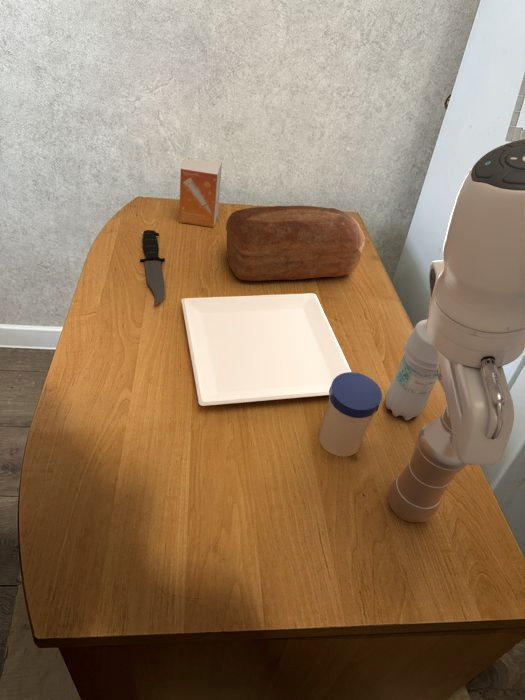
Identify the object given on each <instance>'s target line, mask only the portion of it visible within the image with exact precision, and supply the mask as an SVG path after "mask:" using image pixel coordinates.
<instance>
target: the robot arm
mask: <svg viewBox="0 0 525 700" xmlns="http://www.w3.org/2000/svg"><path fill="white" fill-rule="evenodd" d="M428 278H429V279H428V281H429V289H430V301H429V304H428V317H427V319H428V321H427V334H428V337H429V339H430V341H431V343H432V344H433V346H434V347H435V348H436V349H437V354H438V363H437V367H436V370H437V375H438V379H437V380H441V381H442V385H443V389H444V395H445V400H446V407H447V406H448V411H449V416H450V422H451V427H452V431H451V434H450V437H449V439H450V445H451V450H452V451H456V453H457V457H458V459H459V460H460V461H461V462H463V463H465V464H467V465H473V466H493V465H497V464H499V463H500V462H501V461H502V459H503V457H504V455H505V452H506V450H507V447H508V444H509V440H510V438H511V435H512V432H513V427H514V423H515V422H514V421H515V408H514V401H513V398H512V394H511V391H510V388H509V383H508V381H507V377H506V374H505V370H504V366H506V365H509V364H511V363H514V362H515V361H516V360H517V359H519V358H520V357H521V355H522V354H523V353H524V351H525V138H524V139H523V138H522V139H519V140H518V139H517V140H513V141H511V142H507V143H505V144H502V145H500V146H497V147H495V148H493V149H491V150H489V151H487V153H485V154H483V156H481V157H480V158H479V159H478V160H477V161H476V162H475V163H474V164H473V166H472V167H471V168H470V170H469V171H468V172H467V175H466V176H465V177H464V180H463V182H462V185H461V187H460V189H459V191H458V193H457V196H456V198H455V202H454V205H453V208H452V211H451V214H450V219H449V221H448V226H447V230H446V234H445V239H444V243H443V248H442V260H433V261H431V263H430V267H429V273H428Z"/></svg>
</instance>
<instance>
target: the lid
mask: <svg viewBox="0 0 525 700" xmlns="http://www.w3.org/2000/svg"><path fill="white" fill-rule="evenodd" d="M329 397H330V401H331V403H332V404H333V406H334V407H335V408H336V409H337V410H338V411H340V412H341V413H343V414H345V415H347V416H350V417H354V418H365V417H369V416H371V415H373V414H374V415H375V413H376V412H378V410H379V407H380V405H381V402H382V399H383V393H382V390H381V387H380V385H378V383H377V382H376V381H375V380H374V379H372V378H371V377H369V376H367V374H366V375H365V374H363V373H359V372H355V371H351V372H347V373H342V374H340V375H338V376H337V377H336V378H335V379H334V380H333V382H332V385H331V386H330V390H329V395H328V398H329ZM374 415H373V416H374Z"/></svg>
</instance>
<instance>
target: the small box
mask: <svg viewBox="0 0 525 700" xmlns="http://www.w3.org/2000/svg"><path fill="white" fill-rule="evenodd" d="M222 165H223V163H222V162H220V161H215V160H208V159H203V158H194V157H188V156H185V159H184V161H183V163H182V165H181V167H180V176H179V179H180V180H179V181H180V182H179V221H178V222H179V224H181V223H183V224H188V225H195V226H201V227H208V228H212V229H213V228H215V225H216V222H217V218H218V215H219V208H220V207H219V205H220V193H221V180H222V179H221V178H222V168H223V167H222Z"/></svg>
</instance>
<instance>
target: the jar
mask: <svg viewBox="0 0 525 700" xmlns="http://www.w3.org/2000/svg"><path fill="white" fill-rule="evenodd" d="M374 415H375V413H374V414H373V415H371V416H369V417H365V418H354V417H350V416H347V415H345V414H343V413H341V412H340V411H338V410H337V409H336V408H335V407H334V406H333V404H332V403H331V401H330V397H329V396H328V401H327V404H326V407H325V411H324V413H323V417H322V419H321V423H320V427H319V430H318V437H317V438H318V441H319V443H320V446H321V447H322V448H323V449H324V450H325V451H327V452H328V453H330V454H331V455H334V456H337V457H350V456H353V455H355V454H357V453H358V452H359V451H360V449H361V447H362V444H363V441H364V440H365V437H366V434H367V432H368V430H369V427H370V425H371V422H372V419H373V417H374Z"/></svg>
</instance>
